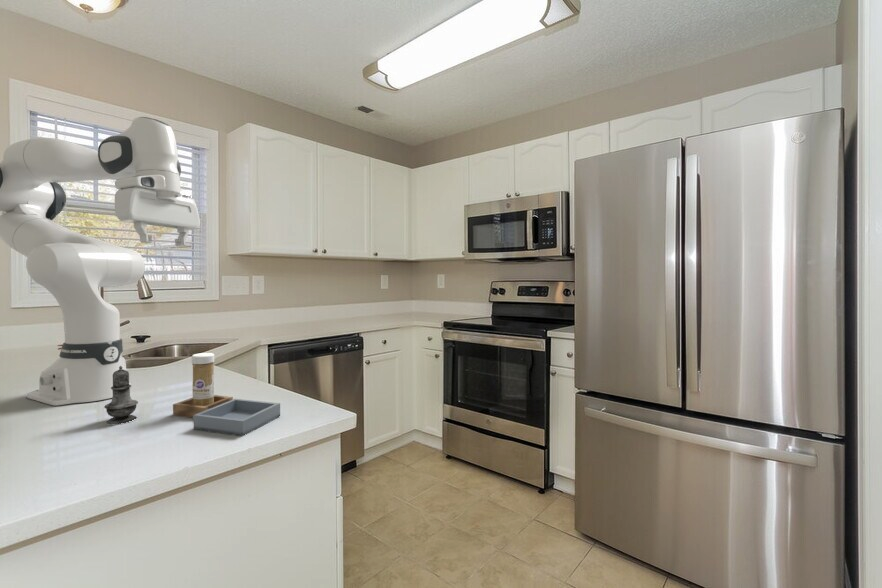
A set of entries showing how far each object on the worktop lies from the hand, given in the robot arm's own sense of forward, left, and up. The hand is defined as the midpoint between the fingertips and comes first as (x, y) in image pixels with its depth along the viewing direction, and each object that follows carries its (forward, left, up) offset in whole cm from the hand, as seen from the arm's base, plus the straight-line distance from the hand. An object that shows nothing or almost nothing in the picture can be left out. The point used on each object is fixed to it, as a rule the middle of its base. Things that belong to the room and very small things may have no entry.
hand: (164, 244), depth 102 cm
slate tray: (+26, -6, -39) cm, 47 cm away
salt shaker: (+1, -12, -39) cm, 41 cm away
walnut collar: (+13, -2, -39) cm, 41 cm away
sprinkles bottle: (+13, -2, -39) cm, 41 cm away
